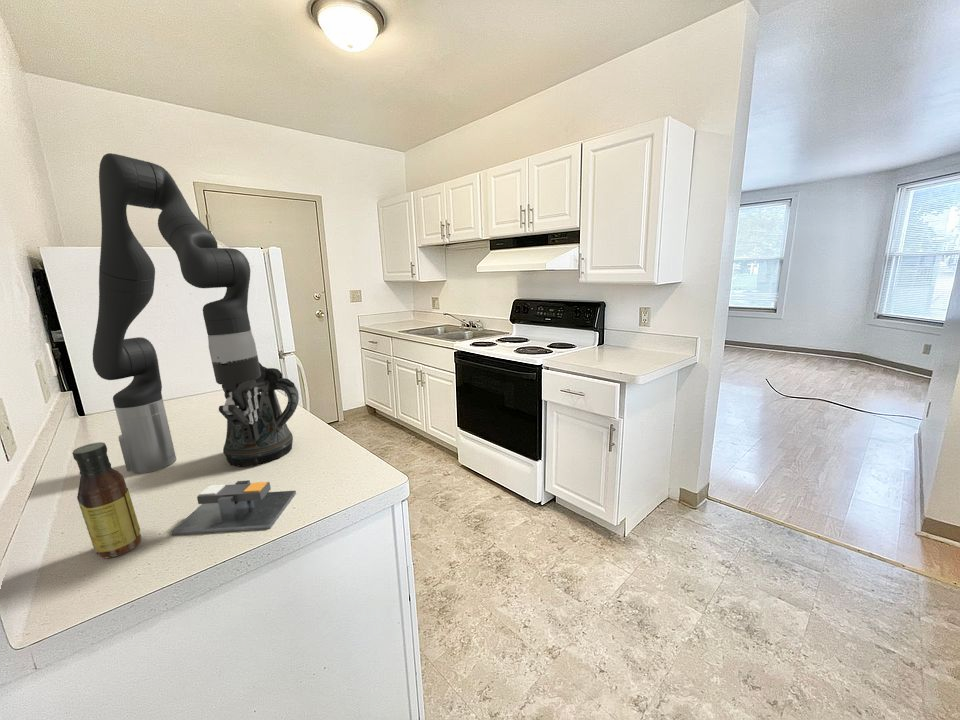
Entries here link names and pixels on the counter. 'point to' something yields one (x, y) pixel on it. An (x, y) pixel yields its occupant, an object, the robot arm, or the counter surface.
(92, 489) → the sauce bottle
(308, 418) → the counter surface
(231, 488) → the lever
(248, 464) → the beer stein
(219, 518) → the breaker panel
